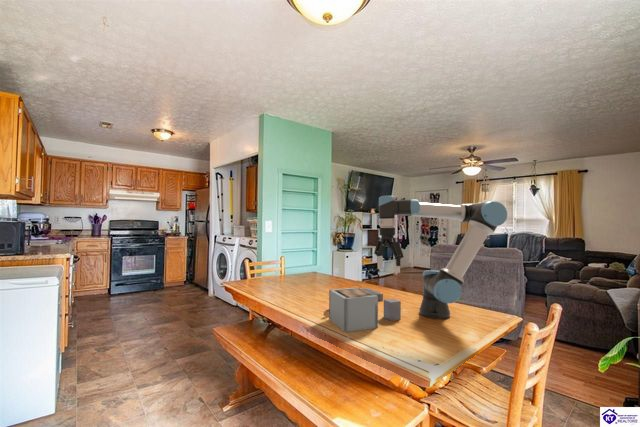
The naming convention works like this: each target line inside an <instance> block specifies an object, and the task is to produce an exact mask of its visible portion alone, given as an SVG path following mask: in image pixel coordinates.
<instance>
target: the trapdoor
mask: <svg viewBox="0 0 640 427" xmlns="http://www.w3.org/2000/svg"><path fill="white" fill-rule="evenodd" d="M338 293H340V294H342V295H344V296H346V297H347V298H351V297H362V296H373V295H377V296H378V303H379V302H383V303H384V293H381V292H379V291H377V290H375V289H372V288H369V287H366V288H360V289H350V290H338Z"/></svg>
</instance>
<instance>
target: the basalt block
mask: <svg viewBox="0 0 640 427" xmlns="http://www.w3.org/2000/svg"><path fill="white" fill-rule="evenodd" d="M401 305H402V302H401V300H399V299H396V298H387V299H386V298H385V299H384V298H383V318H384V319H386V320H387V321H390V322H393V321H399V320H401V319H402V318H401V317H402V316H401V312H402V311H401V310H402V309H401V308H402V307H401Z"/></svg>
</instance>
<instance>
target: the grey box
mask: <svg viewBox="0 0 640 427" xmlns="http://www.w3.org/2000/svg"><path fill="white" fill-rule="evenodd" d="M350 289H361V288H360V287H347V288H337V289H336V288H335V289H333V288H332V289H329V291H328V292H329V294H328V295H329V296H328V297H329V298H328V300H329V301H328V308H329V309H328V312H329V313H328V315H329V316H328V320H330V321H331V322H332V323H333V324H334V325H335V326H337V327H338V328H339V329H341V330H342V331H343V332H344V333H348V332H357V331H365V330H372V329H377V328H379V323H378V322H379V316H378V315H379V302H378V296H377V295H373V296H362V297H351V298H347V297H346V296H344V295H342V294H340V293H338V290H350Z"/></svg>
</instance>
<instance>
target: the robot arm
mask: <svg viewBox="0 0 640 427" xmlns="http://www.w3.org/2000/svg"><path fill="white" fill-rule="evenodd" d="M395 216H399V217H400V216H403V217H404V216H407V217H420V218H421V217H422V218H433V219H444V220H456V221H458V222H460V223H468V224H469V225H470V226H469V228H468V229H467V231H466V233H465V234H464V236H463V238H462V239H461V241H460V242H459V244H458V246H457V248H456V249H455V251H454V252H453V254H452V256H451V257H450V259H449V261H448V263H447V265H446V266H445V267H443V268H440V269H439V270H433V269H432V270H430V269H429V270H424V271H423V272H422V300H421V304H420V307H419V310H418V311H419V314H420V315H421V316H423V317H426V318H430V319H442V320H443V319H447V318H450V317H451V310H450V308H449V307H450V306H449V304H453V303H455V302H457V301H458V300H459V299H460V298H461V296H462V292H463V291H462V286H463V285H464V284H465V282H464V281H465V280H464V276H465V274H466V272H467V270H469V267H470V266H471V265H472V263H473V261H474V259H475V258H476V255H477V254H478V252H479V251H480V250H481V247H482V245H483V244H484V243H485V241H486V239H487V237H488V236H489V235H490V234H491V235H492V234H494V233H495V231H496V229H497V228H498V227H499V226H501V225H503V224H504V223H505V222H506V221H507V218H508V210H507V208H506V207H505V205H504V204H502V203H501V202H499V201H496V200H487V201H481V202H475V203H460V204H457V205H456V204H442V203H430V202H420V201H419V200H418V199H413V198H410V199H409V198H407V199H395V196H394V195H381V196H380V197H378V222H379V225H378V226H379V227H380V228H379V230H378V231H379V236H377V239H376V240H377V241H376V243H375V244H376V245H375V249H374V252H373V253H374V255H375V256H376V261H377V270H383V269H384V262H383V261H384V260H383V257H384V256H383V253H384V251H385V250H386V247H388V248H389V249H390V251H391V253H392V256H393V257H394V259H393V265H394V267H393V270H394V274H400V273H401V259H403V258H404V253H403V251H402V250H403V249H402V248H401V245H400V240H399V237H394V236H395V235H396V228H395V227H396V219H395V218H396V217H395Z"/></svg>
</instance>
